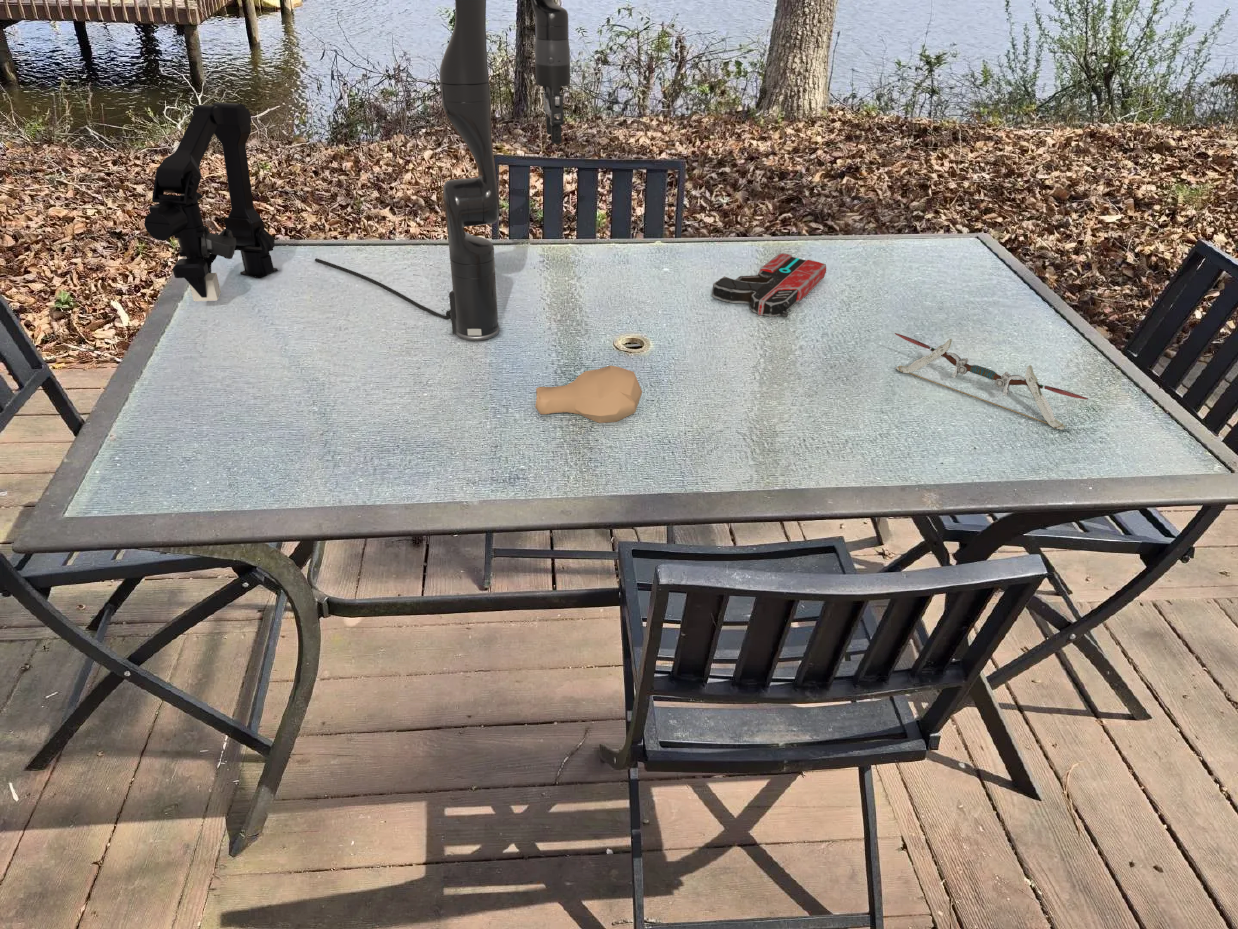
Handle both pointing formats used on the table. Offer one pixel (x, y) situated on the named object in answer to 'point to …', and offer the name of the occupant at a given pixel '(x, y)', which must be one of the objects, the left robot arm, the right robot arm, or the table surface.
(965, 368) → the bow
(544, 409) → the squash
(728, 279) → the gun
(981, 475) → the table surface
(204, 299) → the beige cube
